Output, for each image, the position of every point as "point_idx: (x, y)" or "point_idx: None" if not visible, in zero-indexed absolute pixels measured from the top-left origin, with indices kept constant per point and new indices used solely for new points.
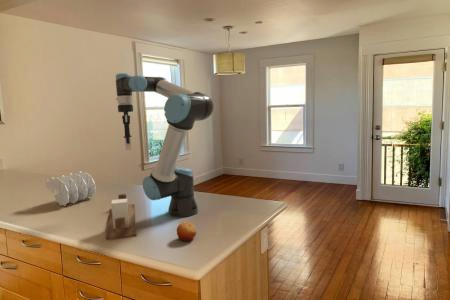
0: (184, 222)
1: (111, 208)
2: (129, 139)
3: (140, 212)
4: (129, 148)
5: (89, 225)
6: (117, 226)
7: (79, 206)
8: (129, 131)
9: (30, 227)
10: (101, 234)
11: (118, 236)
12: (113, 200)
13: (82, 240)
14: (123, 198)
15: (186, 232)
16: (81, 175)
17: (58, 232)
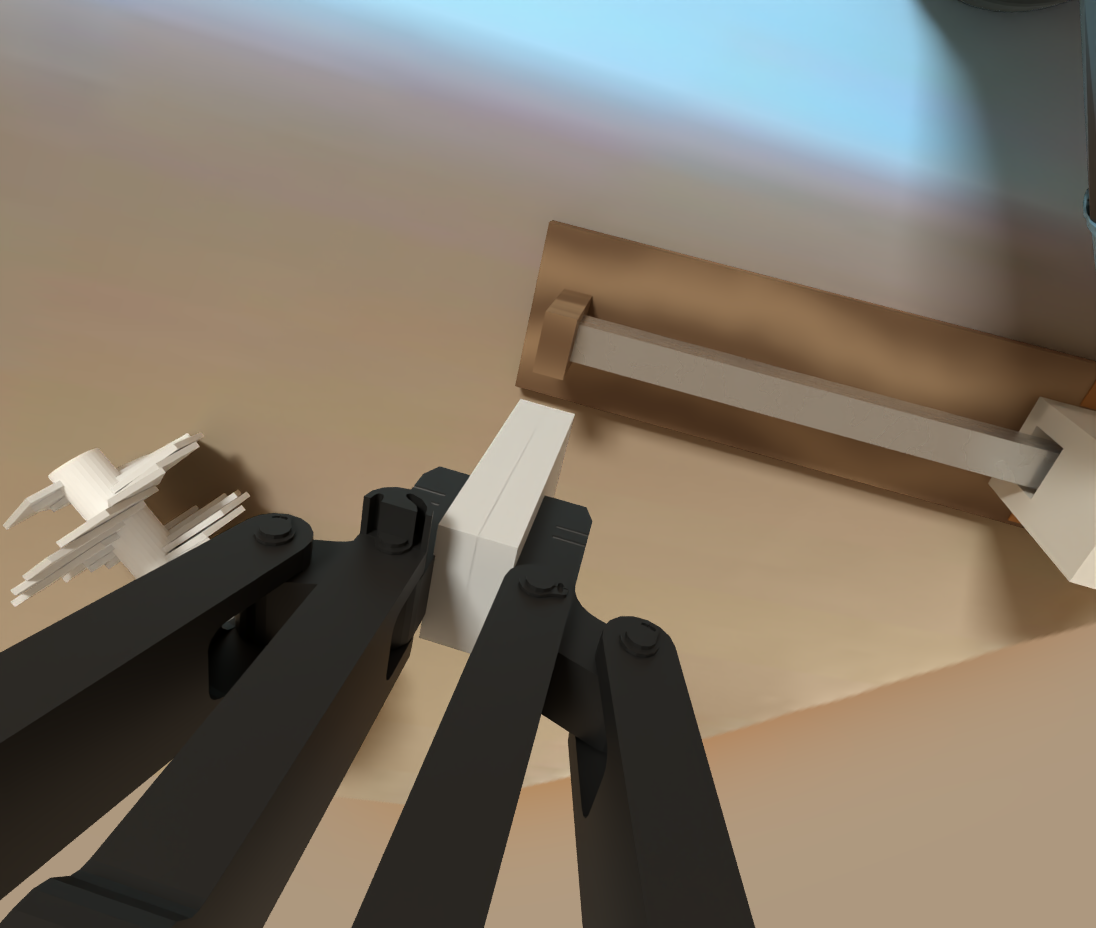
0: None
1: (563, 399)
2: (524, 538)
3: (748, 225)
4: (563, 453)
5: (786, 563)
6: None
7: (354, 529)
8: (706, 766)
9: None
10: (1008, 549)
11: None
12: (1094, 577)
13: (1017, 638)
14: (587, 337)
15: None
16: (58, 568)
17: (786, 691)
